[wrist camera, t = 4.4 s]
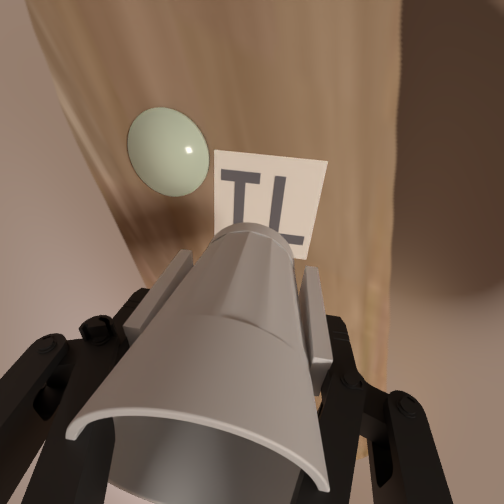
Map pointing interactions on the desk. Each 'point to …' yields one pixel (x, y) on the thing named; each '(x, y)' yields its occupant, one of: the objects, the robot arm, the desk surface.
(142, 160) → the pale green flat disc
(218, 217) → the tile
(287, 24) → the desk surface
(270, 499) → the cup
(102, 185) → the desk surface
